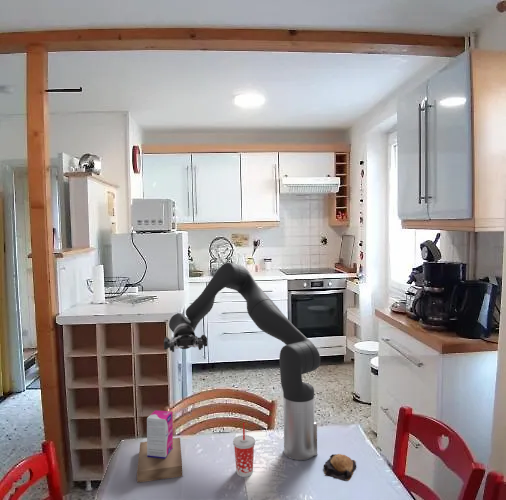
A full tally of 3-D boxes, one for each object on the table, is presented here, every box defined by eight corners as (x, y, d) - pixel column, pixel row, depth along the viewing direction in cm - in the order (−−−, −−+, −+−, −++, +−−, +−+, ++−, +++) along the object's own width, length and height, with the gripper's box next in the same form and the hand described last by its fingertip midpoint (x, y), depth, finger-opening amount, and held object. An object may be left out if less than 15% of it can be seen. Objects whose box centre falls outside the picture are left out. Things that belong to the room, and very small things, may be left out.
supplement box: (166, 459, 117) (164, 419, 117) (146, 457, 119) (145, 418, 118) (173, 448, 123) (172, 410, 123) (155, 447, 124) (154, 409, 124)
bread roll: (329, 457, 123) (329, 445, 123) (358, 463, 120) (358, 451, 120) (320, 477, 114) (319, 463, 114) (351, 484, 110) (351, 470, 110)
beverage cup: (251, 480, 112) (250, 429, 111) (230, 476, 114) (229, 426, 113) (258, 467, 118) (257, 419, 117) (238, 464, 120) (237, 416, 119)
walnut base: (180, 446, 130) (180, 437, 130) (182, 476, 114) (182, 465, 114) (140, 451, 127) (140, 442, 127) (137, 482, 112) (136, 471, 112)
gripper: (163, 326, 147) (163, 337, 131) (203, 323, 150) (208, 334, 134) (164, 347, 148) (164, 361, 132) (204, 344, 151) (209, 357, 135)
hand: (186, 347), depth 133 cm, fingers open, 8 cm apart
